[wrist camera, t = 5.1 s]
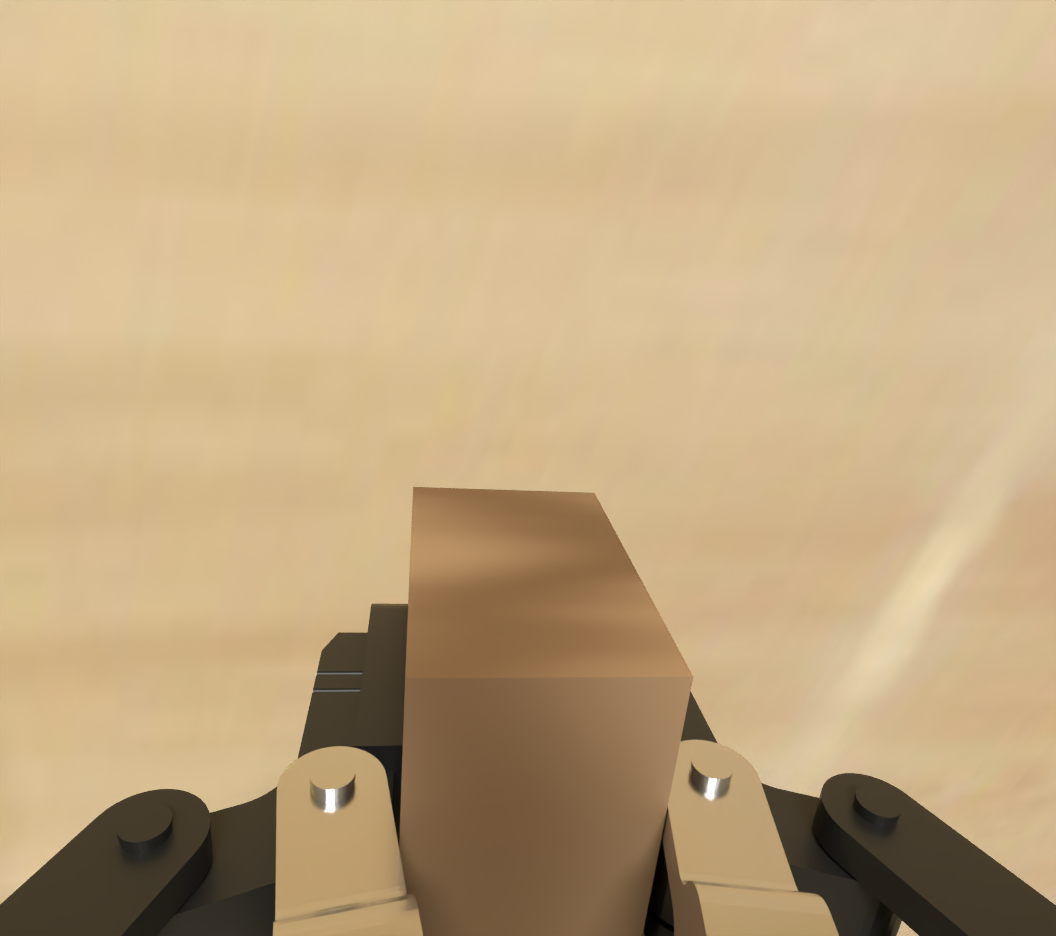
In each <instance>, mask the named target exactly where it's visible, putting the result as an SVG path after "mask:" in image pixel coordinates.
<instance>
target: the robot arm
mask: <svg viewBox="0 0 1056 936" xmlns="http://www.w3.org/2000/svg"><path fill="white" fill-rule="evenodd" d="M407 624H408V604H372V605H371V612H370V619H369V627H368V633H338V634H337V635H336V636H335V637H334V638H333V639H332V640H331V641H330V643H329V644H328V645H327V646H326V647H325V648H324V649H323V650H322V653H321V657H320V662H319V666H318V671H317V676H316V679H315V684H314V688H313V693H312V697H311V702H310V706H309V711H308V715H307V720H306V724H305V729H304V733H303V738H302V742H301V747H300V751H299V756H298V759H297V760H295V761H294V762H293V763H292V764H290V765H289V766H288V768H287V769H286V770H285V771H284V772H283V774H282V776H281V777H280V780H279V782H278V786H277V787H276V788H275V789H273V790H272V791H270V792H269V793H267V794H265V795H263V796H262V797H259V798H257V799H255V800H253V801H250V802H247V803H244V804H241V805H237V806H234V807H230V808H226V809H223V810H219V811H216V812H212V813H209V810H208V808H207V806H206V805H205V803H204V802H203V801H202V800H201V799H200V798H198V797H197V796H195V795H193V794H191V793H189V792H185V791H181V790H174V789H159V790H153V791H147V792H143V793H140V794H136V795H134V796H131V797H128V798H126V799H124V800H122V801H120V802H118V803H116V804H115V805H113V806H111V807H110V808H108V809H107V810H105V811H104V812H103V813H102V814H100V815H99V816H98V817H97V818H96V819H95V820H94V821H92V822H91V823H90V824H89V825H88V826H87V827H86V828H85V829H84V830H82V831H81V832H80V833H79V834H78V835H77V836H76V837H75V838H74V839H73V840H71V841H70V842H69V843H68V844H67V845H66V846H65V847H64V848H63V849H61V850H60V851H59V852H58V853H57V854H56V855H55V856H54V857H53V858H51V859H50V860H49V861H48V862H47V863H46V864H45V865H44V866H43V867H42V868H40V869H39V870H38V871H37V872H36V873H35V874H34V875H33V876H32V877H30V878H29V879H28V880H27V881H26V882H25V883H24V884H23V885H22V886H20V887H19V888H18V889H17V890H16V891H15V892H14V893H13V894H12V895H11V896H9V897H8V898H7V899H6V900H5V901H4V902H3V903H2V904H1V905H0V936H423V932H422V927H421V921H420V916H419V911H418V906H417V902H416V899H415V897H414V895H413V894H408V895H407V891H406V886H405V881H404V875H403V869H402V863H401V857H400V851H399V838H400V810H401V782H402V754H403V725H404V697H405V671H406V647H407ZM901 921H903V922H904V923H906V924H907V925H908V926H909V927H910V928H911V929H912V930H913V931H915V932H916V933H917V934H918V935H919V936H1056V905H1054V904H1053V903H1052V902H1050V901H1049V900H1048V899H1046V898H1045V897H1044V896H1042V895H1041V894H1040V893H1038V892H1037V891H1036V890H1034V889H1033V888H1032V887H1030V886H1029V885H1028V884H1026V883H1025V882H1024V881H1022V880H1021V879H1020V878H1018V877H1017V876H1015V875H1014V874H1013V873H1011V872H1010V871H1009V870H1007V869H1006V868H1005V867H1003V866H1002V865H1001V864H999V863H998V862H997V861H995V860H994V859H993V858H991V857H990V856H989V855H987V854H986V853H985V852H983V851H982V850H981V849H979V848H978V847H977V846H975V845H974V844H972V843H971V842H970V841H968V840H967V839H966V838H964V837H963V836H962V835H960V834H959V833H958V832H956V831H955V830H954V829H952V828H951V827H950V826H948V825H947V824H946V823H944V822H943V821H942V820H940V819H939V818H938V817H936V816H935V815H933V814H932V813H931V812H929V811H928V810H927V809H925V808H924V807H923V806H921V805H920V804H919V803H917V802H916V801H915V800H913V799H912V798H911V797H909V796H908V795H907V794H905V793H904V792H902V791H901V790H899V789H898V788H896V787H894V786H892V785H891V784H889V783H887V782H884V781H882V780H880V779H877V778H874V777H871V776H867V775H862V774H854V773H845V774H839V775H836V776H833V777H831V778H830V779H828V780H827V781H826V782H825V784H824V785H823V788H822V791H821V794H820V798H817V797H812V796H808V795H803V794H799V793H794V792H790V791H786V790H781V789H777V788H774V787H770V786H768V785H765V784H762V783H761V781H760V778H759V776H758V774H757V772H756V771H755V769H754V768H753V766H752V765H751V764H750V763H749V762H748V761H747V760H746V759H745V758H744V757H742V756H741V755H740V754H738V753H737V752H735V751H734V750H732V749H730V748H728V747H726V746H723V745H721V744H718V743H717V741H716V739H715V737H714V736H713V734H712V732H711V730H710V728H709V726H708V724H707V722H706V720H705V718H704V716H703V714H702V712H701V711H700V709H699V707H698V705H697V703H696V701H695V699H694V697H693V695H692V693H691V691H690V696H689V701H688V706H687V711H686V716H685V721H684V726H683V731H682V736H681V741H680V746H679V752H678V757H677V762H676V767H675V772H674V777H673V782H672V787H671V792H670V797H669V802H668V808H667V813H666V818H665V823H664V828H663V833H662V838H661V843H660V848H659V853H658V858H657V864H656V869H655V874H654V879H653V884H652V889H651V894H650V899H649V904H648V909H647V914H646V920H645V925H644V930H643V935H642V936H896V935H897V933H898V930H899V927H900V924H901Z"/></svg>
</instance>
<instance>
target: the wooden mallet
mask: <svg viewBox="0 0 1056 936" xmlns="http://www.w3.org/2000/svg"><path fill="white" fill-rule="evenodd" d="M692 680H693V676H692V674H691V672H690V670H689V668H688V666H687V664H686V663H685V661H684V659H683V657H682V655H681V653H680V651H679V650H678V648H677V646H676V644H675V642H674V640H673V638H672V637H671V635H670V633H669V631H668V629H667V627H666V625H665V624H664V622H663V620H662V618H661V616H660V614H659V612H658V611H657V609H656V607H655V605H654V603H653V601H652V599H651V597H650V596H649V594H648V592H647V590H646V588H645V586H644V584H643V583H642V581H641V579H640V577H639V575H638V573H637V571H636V570H635V568H634V566H633V564H632V562H631V560H630V558H629V557H628V555H627V553H626V551H625V549H624V547H623V545H622V544H621V542H620V540H619V538H618V536H617V534H616V532H615V531H614V529H613V527H612V525H611V523H610V521H609V519H608V518H607V516H606V514H605V512H604V510H603V508H602V506H601V505H600V503H599V501H598V499H597V497H596V495H595V493H579V492H548V491H517V490H486V489H455V488H425V487H413V507H412V530H411V554H410V577H409V600H408V624H407V647H406V671H405V697H404V725H403V754H402V782H401V810H400V838H399V851H400V857H401V863H402V869H403V875H404V881H405V886H406V891H407V895H408V894H413V895H414V897H415V899H416V902H417V906H418V911H419V916H420V921H421V927H422V932H423V936H642V935H643V930H644V925H645V920H646V914H647V909H648V904H649V899H650V894H651V889H652V884H653V879H654V874H655V869H656V864H657V858H658V853H659V848H660V843H661V838H662V833H663V828H664V823H665V818H666V813H667V808H668V802H669V797H670V792H671V787H672V782H673V777H674V772H675V767H676V762H677V757H678V752H679V746H680V741H681V736H682V731H683V726H684V721H685V716H686V711H687V706H688V701H689V696H690V690H691V685H692Z"/></svg>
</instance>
